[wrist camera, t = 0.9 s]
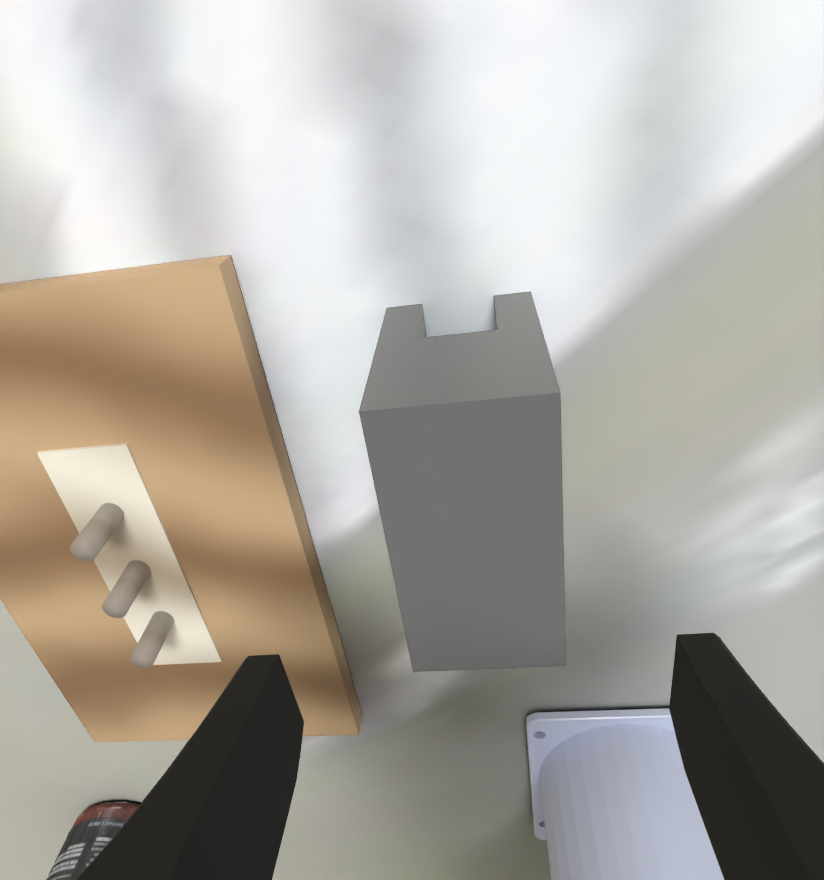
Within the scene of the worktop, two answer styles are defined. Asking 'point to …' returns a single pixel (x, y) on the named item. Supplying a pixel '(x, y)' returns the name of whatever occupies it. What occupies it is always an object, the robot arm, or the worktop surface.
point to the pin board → (155, 503)
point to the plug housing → (470, 487)
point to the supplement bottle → (90, 838)
